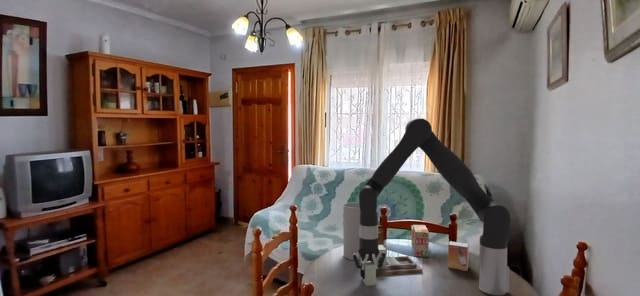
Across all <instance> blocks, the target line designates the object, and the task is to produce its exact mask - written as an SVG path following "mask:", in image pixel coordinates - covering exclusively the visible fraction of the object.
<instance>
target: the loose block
mask: <svg viewBox="0 0 640 296" xmlns="http://www.w3.org/2000/svg"><path fill="white" fill-rule="evenodd" d="M364 270H365V279H363V278H362V277H361V280H362V281H363V283H364V285H365V286H376V285H377V277H376V264H374V263H373V262H372V261H368V262H367V263H366V264H365V269H364Z"/></svg>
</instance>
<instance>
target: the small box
mask: <svg viewBox="0 0 640 296" xmlns="http://www.w3.org/2000/svg"><path fill="white" fill-rule="evenodd" d="M469 247H470V245H469V243H464V242H457V241H451V240H450V241H449V242H448V247H447V249H448V251H447V254H448V255H447V258H448V259H447V268H448V269H449V268H450V269H455V270H459V271H464V272H465V271H466V272H468V270H469V269H468V268H469Z"/></svg>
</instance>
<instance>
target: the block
mask: <svg viewBox="0 0 640 296" xmlns="http://www.w3.org/2000/svg"><path fill="white" fill-rule="evenodd" d="M383 245H384V244H383ZM383 245H378V249H379V251H384V252H385V254H386V256H385V259H384V262H383V265H387V257H388V255H387V251H388V250H387V247H384V246H383ZM379 257H380V256H379V254H378V256H377V257H376V261H377V263H378V260H379ZM383 265H382V266H383Z"/></svg>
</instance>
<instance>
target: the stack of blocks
mask: <svg viewBox="0 0 640 296" xmlns="http://www.w3.org/2000/svg"><path fill="white" fill-rule="evenodd" d="M426 226H427V225H425V224H412V225H411V226H410V232H411V235H410V236H411V240H410V241H411V245H412V249H413V252H414V256H415V257H420V258H421V257H422V258H425V257H426V258H429V244H430V243H429V242H430V241H429V240H430V232H429V229H428V228H427V227H426Z"/></svg>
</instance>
